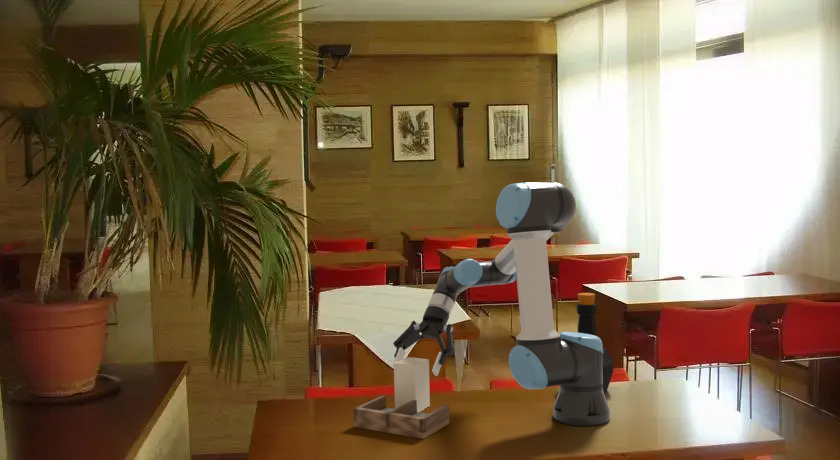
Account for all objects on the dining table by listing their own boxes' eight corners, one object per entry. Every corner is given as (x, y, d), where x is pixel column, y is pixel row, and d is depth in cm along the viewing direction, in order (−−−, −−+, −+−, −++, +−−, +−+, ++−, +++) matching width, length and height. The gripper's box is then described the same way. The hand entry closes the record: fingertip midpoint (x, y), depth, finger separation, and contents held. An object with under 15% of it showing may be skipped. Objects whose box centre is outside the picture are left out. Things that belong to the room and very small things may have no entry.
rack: (449, 423, 202) (449, 405, 202) (423, 438, 190) (423, 419, 190) (382, 412, 213) (382, 395, 213) (354, 426, 201) (353, 408, 201)
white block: (429, 406, 218) (428, 359, 217) (416, 414, 211) (414, 365, 210) (409, 403, 221) (408, 357, 220) (395, 411, 214) (393, 362, 214)
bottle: (616, 384, 236) (616, 290, 235) (610, 399, 221) (609, 298, 219) (566, 381, 242) (565, 289, 240) (556, 394, 227) (555, 296, 225)
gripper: (478, 321, 227) (456, 382, 215) (408, 315, 240) (384, 372, 228) (470, 307, 222) (447, 368, 210) (399, 302, 235) (373, 359, 223)
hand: (414, 370), depth 219 cm, fingers open, 13 cm apart
